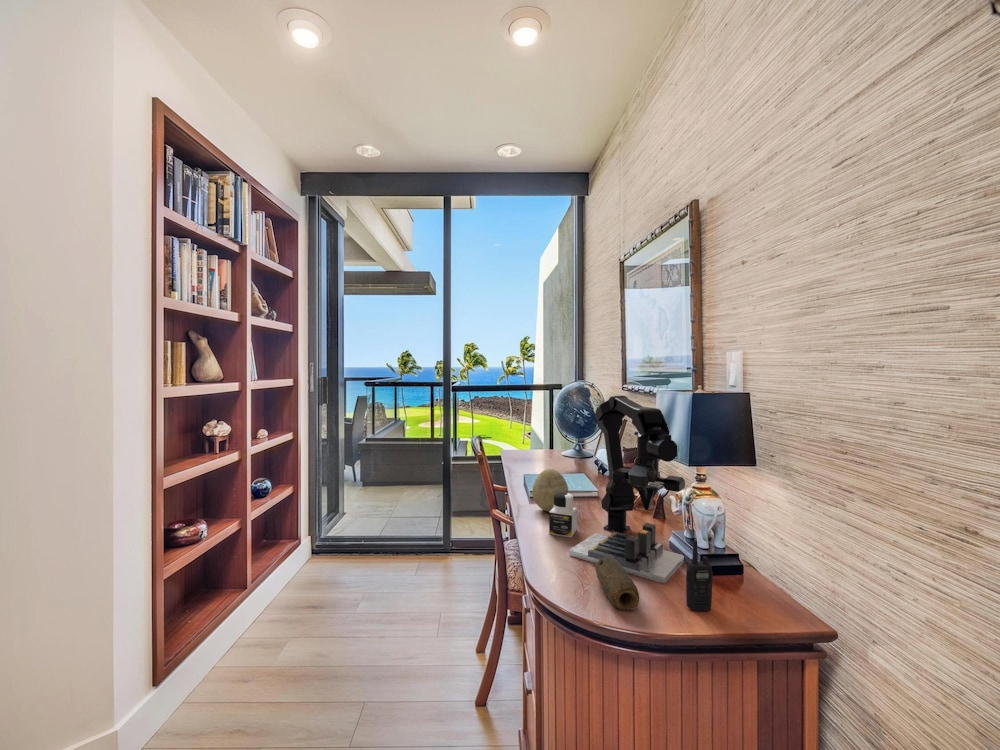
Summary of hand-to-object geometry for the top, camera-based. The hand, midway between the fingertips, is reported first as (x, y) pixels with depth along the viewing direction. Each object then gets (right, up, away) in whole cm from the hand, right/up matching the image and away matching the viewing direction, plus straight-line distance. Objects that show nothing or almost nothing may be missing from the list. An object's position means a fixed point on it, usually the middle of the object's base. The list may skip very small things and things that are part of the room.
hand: (647, 509), depth 128 cm
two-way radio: (+2, -13, -28) cm, 31 cm away
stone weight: (-14, -13, -23) cm, 30 cm away
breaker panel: (-7, -12, -3) cm, 14 cm away
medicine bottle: (-21, -12, +16) cm, 29 cm away
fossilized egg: (-23, -11, +36) cm, 44 cm away
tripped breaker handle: (-3, -9, -6) cm, 11 cm away
